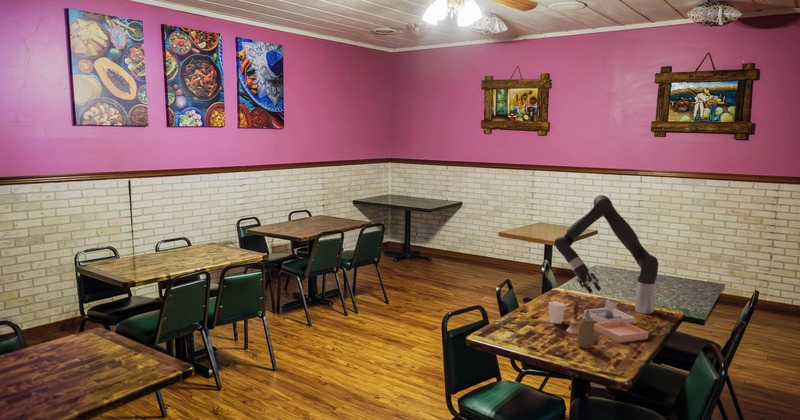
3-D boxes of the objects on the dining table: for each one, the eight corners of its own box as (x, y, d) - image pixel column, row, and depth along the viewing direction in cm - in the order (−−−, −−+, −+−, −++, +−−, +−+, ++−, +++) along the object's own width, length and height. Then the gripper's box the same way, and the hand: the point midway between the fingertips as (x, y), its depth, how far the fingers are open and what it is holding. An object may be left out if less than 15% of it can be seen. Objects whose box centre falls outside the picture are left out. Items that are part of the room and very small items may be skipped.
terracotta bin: (621, 326, 295) (622, 320, 295) (647, 338, 278) (648, 331, 278) (593, 330, 289) (594, 323, 288) (618, 342, 272) (619, 335, 272)
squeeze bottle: (573, 343, 270) (576, 306, 267) (589, 343, 271) (592, 306, 268) (580, 349, 262) (582, 312, 259) (597, 349, 263) (599, 312, 260)
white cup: (563, 320, 303) (564, 302, 302) (562, 325, 296) (564, 306, 294) (548, 318, 306) (549, 300, 304) (547, 323, 298) (548, 304, 297)
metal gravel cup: (609, 315, 308) (610, 298, 307) (614, 317, 304) (616, 301, 303) (602, 315, 307) (604, 299, 305) (608, 318, 303) (609, 301, 301)
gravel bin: (610, 313, 317) (610, 307, 317) (633, 323, 300) (634, 317, 300) (584, 316, 311) (584, 310, 310) (606, 326, 294) (607, 320, 294)
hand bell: (564, 328, 290) (566, 298, 288) (580, 329, 290) (582, 299, 288) (568, 334, 282) (570, 303, 280) (585, 335, 282) (587, 304, 279)
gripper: (576, 265, 310) (593, 290, 303) (590, 261, 320) (607, 285, 313) (567, 272, 315) (584, 297, 308) (581, 268, 324) (597, 292, 317)
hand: (595, 291), depth 310 cm, fingers open, 8 cm apart
